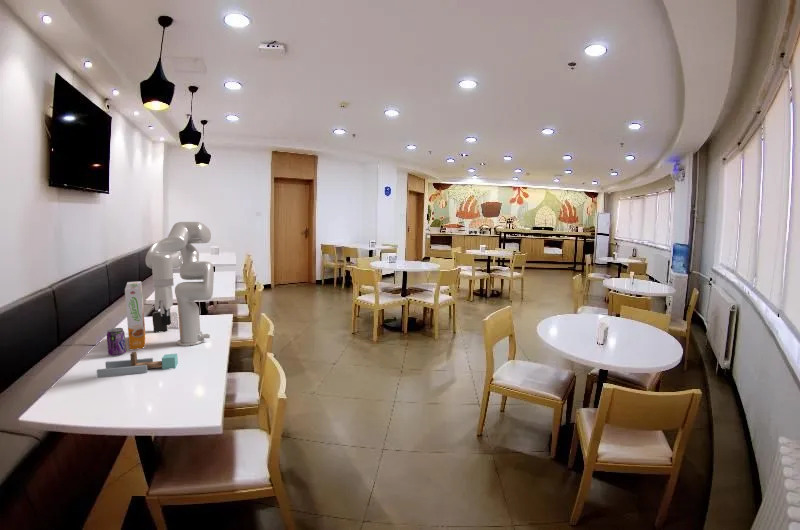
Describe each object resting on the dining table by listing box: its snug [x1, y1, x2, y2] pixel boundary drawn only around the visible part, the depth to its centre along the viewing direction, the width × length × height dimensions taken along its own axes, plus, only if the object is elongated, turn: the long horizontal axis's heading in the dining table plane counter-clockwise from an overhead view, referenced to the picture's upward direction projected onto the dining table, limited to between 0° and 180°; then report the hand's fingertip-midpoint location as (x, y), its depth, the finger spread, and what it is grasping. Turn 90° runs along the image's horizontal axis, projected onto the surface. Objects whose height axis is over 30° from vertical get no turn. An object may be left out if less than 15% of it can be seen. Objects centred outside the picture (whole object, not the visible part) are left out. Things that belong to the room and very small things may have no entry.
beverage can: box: [106, 327, 127, 357], centre depth 199 cm, size 7×7×12 cm
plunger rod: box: [129, 351, 162, 370], centre depth 182 cm, size 12×3×7 cm, turn 106°
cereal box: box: [124, 280, 146, 350], centre depth 215 cm, size 22×6×30 cm, turn 30°
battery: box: [151, 310, 168, 333], centre depth 236 cm, size 7×4×11 cm, turn 119°
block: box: [161, 353, 179, 370], centre depth 184 cm, size 5×5×5 cm
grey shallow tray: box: [96, 357, 154, 378], centre depth 180 cm, size 18×10×3 cm, turn 106°
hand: (166, 324), depth 182 cm, fingers closed
